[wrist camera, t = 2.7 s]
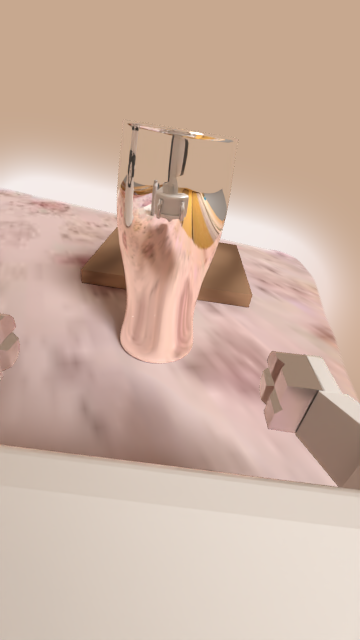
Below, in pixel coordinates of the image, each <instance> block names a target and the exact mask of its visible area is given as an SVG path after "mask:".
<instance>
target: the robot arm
mask: <svg viewBox="0 0 360 640" xmlns="http://www.w3.org/2000/svg"><path fill="white" fill-rule="evenodd" d="M15 328H16V324H15V321H14V318H13V317H12V316H10V315H7V314H0V381H1V379H2V378H3V373H2V371H4V370H6V369H8V368H10V367H12V366H13V364H14V363H15V362H16V360H17V357H18V354H19V350H20V343H19V338H18V337H17V336H16V335H15V334H14V333H13V330H14V329H15ZM267 363H268V368H267V369H265V370H264V371H263V372H262V375H261V378H260V385H259V391H260V398H261V400H262V401H263V402H264V403H265V404H266V406H265V409H264V415H265V419H266V423H267V427H268V429H271V430H278V431H284V432H291V433H296V434H295V435H296V436H297V437H298V438H299V440H300V441H301V442H302V443H303V444H304V446H305V447H306V448H307V449H308V451H309V452H310V453H311V454H312V455H313V457H314V458H315V459H316V460H317V461H318V463H319V464H320V465H321V466H322V467H323V469H324V470H325V471H326V472H327V473H328V475H329V476H330V477H331V478H332V480H333V481H334V482H335V483H336V484H337V486H338V487H334V486H327V485H319V484H311V483H303V482H295V481H287V480H279V479H271V478H263V477H255V476H247V475H239V474H231V473H223V472H215V471H207V470H199V469H191V468H183V467H175V466H167V465H159V464H151V463H143V462H135V461H128V460H120V459H112V458H104V457H96V456H88V455H80V454H72V453H64V452H56V451H48V450H40V449H32V448H24V447H16V446H8V445H0V640H360V403H358V402H357V401H356V400H354V399H353V398H352V397H350V396H349V395H348V394H342V392H341V390H340V389H339V387H338V385H337V383H336V381H335V380H334V378H333V376H332V374H331V373H330V371H329V369H328V367H327V365H326V364H325V362H324V360H323V359H322V358H321V357H320V356H313V355H300V354H292V353H284V352H276V351H272V352H271V353H270V354H269V356H268V359H267Z"/></svg>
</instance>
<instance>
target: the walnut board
mask: <svg viewBox="0 0 360 640" xmlns="http://www.w3.org/2000/svg"><path fill="white" fill-rule="evenodd" d="M81 277H82V283H89V284H96V285H102V286H109V287H116V288H123V289H126V285H125V278H124V271H123V265H122V258H121V251H120V245H119V235H118V227H117V228H116V229H115V230H114V231H113V233H112V234H111V235H110V236H109V237H108V238H107V240H106V241H105V242H104V243H103V244H102V245H101V247H100V248H99V249H98V250H97V251H96V253H95V254H94V255H93V256H92V257H91V258H90V260H89V261H88V262H87V263H86V264H85V265H84V267H83V268H82V269H81ZM251 298H252V292H251V289H250V286H249V283H248V280H247V277H246V274H245V271H244V268H243V264H242V261H241V258H240V255H239V252H238V249H237V246H236V245H232V244H226V243H218V246H217V249H216V252H215V255H214V258H213V260H212V263H211V265H210V268H209V270H208V273H207V275H206V278H205V280H204V283H203V285H202V288H201V290H200V293H199V296H198V298H197V300H203V301H210V302H217V303H223V304H230V305H237V306H244V307H249V304H250V301H251Z"/></svg>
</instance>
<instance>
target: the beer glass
mask: <svg viewBox="0 0 360 640" xmlns="http://www.w3.org/2000/svg"><path fill="white" fill-rule="evenodd" d="M237 143H238V139H237V138H233V137H227V136H221V135H215V134H210V133H204V132H197V131H192V130H186V129H180V128H173V127H167V126H161V125H155V124H148V123H143V122H136V121H130V120H123V129H122V141H121V151H120V161H119V173H118V187H117V225H118V235H119V245H120V251H121V258H122V265H123V271H124V278H125V285H126V301H127V302H126V311H125V316H124V320H123V323H122V327H121V332H120V342H121V345H122V347H123V348H124V350H125V351H126V352H127V353H129V354H130V355H131V356H133V357H135V358H137V359H139V360H142V361H145V362H150V363H170V362H174V361H177V360H180V359H182V358H183V357H185V356H186V355H187V354H188V353H189V352H190V350H191V348H192V345H193V315H194V309H195V305H196V301H197V298H198V296H199V293H200V290H201V288H202V285H203V283H204V280H205V278H206V275H207V273H208V270H209V268H210V265H211V263H212V260H213V258H214V255H215V252H216V249H217V246H218V243H219V241H220V238H221V234H222V230H223V226H224V221H225V218H226V213H227V208H228V203H229V197H230V191H231V184H232V178H233V170H234V163H235V155H236V149H237Z"/></svg>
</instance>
